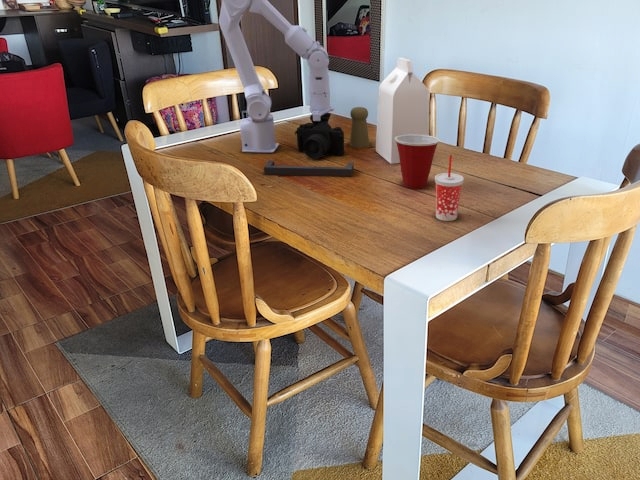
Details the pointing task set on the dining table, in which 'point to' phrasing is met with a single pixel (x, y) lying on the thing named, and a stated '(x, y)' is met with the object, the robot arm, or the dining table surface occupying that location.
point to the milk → (400, 109)
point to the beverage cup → (448, 194)
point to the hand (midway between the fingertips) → (321, 139)
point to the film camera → (320, 139)
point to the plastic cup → (416, 158)
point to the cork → (359, 128)
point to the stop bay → (308, 170)
